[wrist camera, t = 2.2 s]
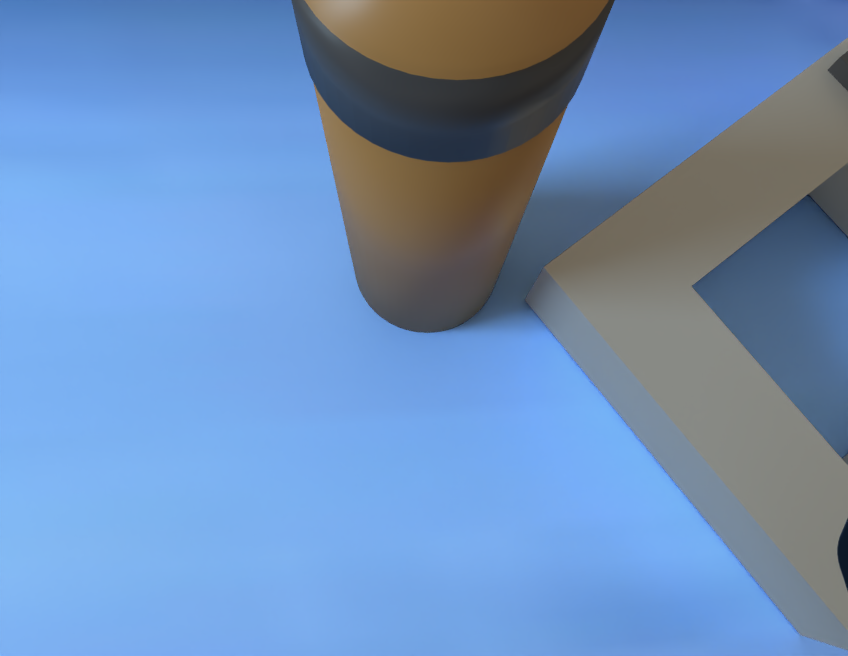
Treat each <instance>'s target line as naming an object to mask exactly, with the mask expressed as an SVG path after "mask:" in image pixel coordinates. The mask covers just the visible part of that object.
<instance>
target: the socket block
mask: <svg viewBox="0 0 848 656" xmlns="http://www.w3.org/2000/svg"><path fill="white" fill-rule="evenodd" d="M808 194H809V195H810V196H811V198H812V199H813V200H814V201H815V202H816V203H817V204H818V205H819V206H820V207H821V208H822V209H823V210H824V212H825V213H826V214H827V215H828V216H829V217H830V218H831V219H832V220H833V221H834V222H835V223H836V224H837V226H838V227H839V228H840V229H841V230H842V231H843V232H844V233H845V234H846V235H847V236H848V38H847V39H845V40H844V41H843V42H841V43H840V44H839V45H837V46H836V47H835V48H833V49H832V50H831V51H829V52H828V53H827V54H825V55H824V56H823V57H821V58H820V59H819V60H818V61H816V62H815V63H814V64H812V65H811V66H810V67H808V68H807V69H806V70H804V71H803V72H802V73H800V74H799V75H798V76H796V77H795V78H794V79H792V80H791V81H790V82H788V83H787V84H786V85H784V86H783V87H782V88H780V89H779V90H778V91H776V92H775V93H774V94H772V95H771V96H770V97H768V98H767V99H766V100H764V101H763V102H762V103H760V104H759V105H758V106H757V107H755V108H754V109H753V110H751V111H750V112H749V113H747V114H746V115H745V116H743V117H742V118H741V119H739V120H738V121H737V122H735V123H734V124H733V125H731V126H730V127H729V128H727V129H726V130H725V131H723V132H722V133H721V134H719V135H718V136H717V137H715V138H714V139H713V140H711V141H710V142H709V143H707V144H706V145H705V146H703V147H702V148H701V149H699V150H698V151H697V152H696V153H694V154H693V155H692V156H690V157H689V158H688V159H686V160H685V161H684V162H682V163H681V164H680V165H678V166H677V167H676V168H674V169H673V170H672V171H670V172H669V173H668V174H666V175H665V176H664V177H662V178H661V179H660V180H658V181H657V182H656V183H654V184H653V185H652V186H650V187H649V188H648V189H646V190H645V191H644V192H642V193H641V194H640V195H638V196H637V197H636V198H635V199H633V200H632V201H631V202H629V203H628V204H627V205H625V206H624V207H623V208H621V209H620V210H619V211H617V212H616V213H615V214H613V215H612V216H611V217H609V218H608V219H607V220H605V221H604V222H603V223H601V224H600V225H599V226H597V227H596V228H595V229H593V230H592V231H591V232H589V233H588V234H587V235H585V236H584V237H583V238H581V239H580V240H579V241H578V242H576V243H575V244H574V245H572V246H571V247H570V248H568V249H567V250H566V251H564V252H563V253H562V254H560V255H559V256H558V257H556V258H555V259H554V260H552V261H551V262H550V263H548V264H547V265H546V266H544V267H543V269H542V271H541V273H540V274H539V276H538V278H537V279H536V281H535V283H534V285H533V286H532V288H531V290H530V292H529V293H528V295H527V297H526V299H525V301H526V302H527V303H528V304H529V306H530V307H531V308H532V309H533V311H534V312H535V313H536V314H537V315H538V317H539V318H540V319H541V320H542V321H543V323H544V324H545V325H546V326H547V328H548V329H549V330H550V331H551V332H552V334H553V335H554V336H555V337H556V338H557V340H558V341H559V342H560V343H561V345H562V346H563V347H564V348H565V349H566V351H567V352H568V353H569V354H570V356H571V357H572V358H573V359H574V360H575V362H576V363H577V364H578V365H579V366H580V368H581V369H582V370H583V371H584V373H585V374H586V375H587V376H588V377H589V379H590V380H591V381H592V382H593V383H594V385H595V386H596V387H597V388H598V390H599V391H600V392H601V393H602V394H603V396H604V397H605V398H606V399H607V400H608V402H609V403H610V404H611V405H612V407H613V408H614V409H615V410H616V411H617V413H618V414H619V415H620V416H621V418H622V419H623V420H624V421H625V422H626V424H627V425H628V426H629V427H630V428H631V430H632V431H633V432H634V433H635V435H636V436H637V437H638V438H639V439H640V441H641V442H642V443H643V444H644V445H645V447H646V448H647V449H648V450H649V452H650V453H651V454H652V455H653V456H654V458H655V459H656V460H657V461H658V463H659V464H660V465H661V466H662V467H663V469H664V470H665V471H666V472H667V473H668V475H669V476H670V477H671V478H672V480H673V481H674V482H675V483H676V484H677V486H678V487H679V488H680V489H681V490H682V492H683V493H684V494H685V495H686V497H687V498H688V499H689V500H690V501H691V503H692V504H693V505H694V506H695V507H696V509H697V510H698V511H699V512H700V514H701V515H702V516H703V517H704V518H705V520H706V521H707V522H708V523H709V525H710V526H711V527H712V528H713V529H714V531H715V532H716V533H717V534H718V535H719V537H720V538H721V539H722V540H723V542H724V543H725V544H726V545H727V546H728V548H729V549H730V550H731V551H732V552H733V554H734V555H735V556H736V557H737V559H738V560H739V561H740V562H741V563H742V565H743V566H744V567H745V568H746V569H747V571H748V572H749V573H750V574H751V576H752V577H753V578H754V579H755V580H756V582H757V583H758V584H759V585H760V587H761V588H762V589H763V590H764V591H765V593H766V594H767V595H768V596H769V597H770V599H771V600H772V601H773V602H774V604H775V605H776V606H777V607H778V608H779V610H780V611H781V612H782V613H783V614H784V616H785V617H786V618H787V619H788V621H789V622H790V623H791V624H792V625H793V627H794V628H795V629H796V630H797V631H798V633H799V634H800V635H802V636H805V637H808V638H811V639H814V640H817V641H820V642H823V643H826V644H829V645H832V646H835V647H839V648H842V649H845V650H848V591H847V588H846V585H845V582H844V579H843V576H842V572H841V569H840V566H839V562H838V556H837V546H838V540H839V537H840V535H841V532H842V530H843V528H844V525H845V523H846V521H847V518H848V454H847V455H846V456H845V457H843V458H841V457H840V456H839V455H838V454H837V453H836V451H835V450H834V449H833V448H832V447H831V446H830V445H829V443H828V442H827V441H826V440H825V439H824V438H823V437H822V435H821V434H820V433H819V432H818V431H817V430H816V429H815V427H814V426H813V425H812V424H811V423H810V422H809V421H808V419H807V418H806V417H805V416H804V415H803V414H802V413H801V411H800V410H799V409H798V408H797V407H796V406H795V404H794V403H793V402H792V401H791V400H790V399H789V398H788V396H787V395H786V394H785V393H784V392H783V391H782V390H781V388H780V387H779V386H778V385H777V384H776V383H775V382H774V380H773V379H772V378H771V377H770V376H769V375H768V374H767V372H766V371H765V370H764V369H763V368H762V367H761V365H760V364H759V363H758V362H757V361H756V360H755V359H754V357H753V356H752V355H751V354H750V353H749V352H748V351H747V349H746V348H745V347H744V346H743V345H742V344H741V343H740V341H739V340H738V339H737V338H736V337H735V336H734V335H733V333H732V332H731V331H730V330H729V329H728V328H727V327H726V325H725V324H724V323H723V322H722V321H721V320H720V318H719V317H718V316H717V315H716V314H715V313H714V312H713V310H712V309H711V308H710V307H709V306H708V305H707V304H706V302H705V301H704V300H703V299H702V298H701V297H700V296H699V294H698V293H697V292H696V291H695V290H694V289H693V288H692V285H694V284H695V283H696V282H697V281H699V280H700V279H701V278H702V277H704V276H705V275H706V274H708V273H709V272H710V271H711V270H713V269H714V268H715V267H716V266H718V265H719V264H720V263H721V262H723V261H724V260H725V259H727V258H728V257H729V256H730V255H732V254H733V253H734V252H735V251H737V250H738V249H739V248H740V247H742V246H743V245H744V244H746V243H747V242H748V241H749V240H751V239H752V238H753V237H754V236H756V235H757V234H758V233H759V232H761V231H762V230H763V229H765V228H766V227H767V226H768V225H770V224H771V223H772V222H773V221H775V220H776V219H777V218H778V217H780V216H781V215H782V214H784V213H785V212H786V211H787V210H789V209H790V208H791V207H792V206H794V205H795V204H796V203H797V202H799V201H800V200H801V199H803V198H804V197H805V196H806V195H808Z"/></svg>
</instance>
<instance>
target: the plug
mask: <svg viewBox="0 0 848 656" xmlns="http://www.w3.org/2000/svg"><path fill="white" fill-rule="evenodd" d="M614 1H615V0H292V5H293V9H294V14H295V18H296V22H297V27H298V31H299V36H300V40H301V45H302V49H303V54H304V58H305V62H306V65H307V68H308V71H309V73H310V76H311V79H312V81H313V83H314V87H315V92H316V96H317V101H318V106H319V110H320V115H321V119H322V124H323V129H324V133H325V138H326V142H327V147H328V152H329V156H330V161H331V165H332V170H333V175H334V179H335V184H336V188H337V193H338V198H339V202H340V207H341V212H342V216H343V221H344V225H345V230H346V235H347V239H348V244H349V248H350V253H351V258H352V262H353V267H354V271H355V276H356V280H357V283H358V286H359V289H360V291H361V293H362V295H363V297H364V299H365V300H366V302H367V303H368V305H369V306H370V307H371V308H372V309H373V310H374V311H375V312H376V313H377V314H378V315H379V316H380V317H382V318H383V319H384V320H386V321H388V322H389V323H391V324H393V325H395V326H397V327H399V328H402V329H405V330H409V331H414V332H424V333H430V332H439V331H444V330H448V329H451V328H454V327H456V326H458V325H460V324H462V323H464V322H466V321H467V320H469V319H470V318H472V317H473V316H474V315H475V314H476V313H477V312H478V311H479V310H480V309H481V308H482V307H483V306H484V304H485V303H486V301H487V300H488V298H489V297H490V295H491V293H492V291H493V288H494V286H495V284H496V281H497V279H498V276H499V274H500V271H501V269H502V266H503V264H504V261H505V259H506V256H507V254H508V251H509V249H510V246H511V244H512V241H513V239H514V237H515V234H516V232H517V229H518V227H519V224H520V222H521V219H522V217H523V214H524V212H525V209H526V207H527V204H528V202H529V199H530V197H531V195H532V192H533V190H534V187H535V185H536V182H537V180H538V177H539V175H540V172H541V170H542V167H543V165H544V162H545V160H546V157H547V155H548V153H549V150H550V148H551V145H552V143H553V140H554V138H555V135H556V133H557V130H558V128H559V125H560V123H561V120H562V118H563V115H564V113H565V110H566V108H567V106H568V104H569V102H570V101H571V99H572V98H573V96H574V95H575V93H576V91H577V88H578V86H579V84H580V82H581V80H582V78H583V76H584V73H585V71H586V68H587V66H588V64H589V61H590V59H591V56H592V54H593V51H594V49H595V47H596V44H597V42H598V39H599V37H600V35H601V32H602V30H603V27H604V25H605V22H606V20H607V18H608V15H609V13H610V10H611V8H612V6H613V3H614Z"/></svg>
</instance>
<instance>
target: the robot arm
mask: <svg viewBox="0 0 848 656" xmlns="http://www.w3.org/2000/svg"><path fill="white" fill-rule="evenodd" d="M837 556H838V562H839V566H840V569H841V572H842V576H843V579H844V582H845V585H846V588H847V591H848V518H847V521H846V523H845V525H844V528H843V530H842V532H841V535H840V537H839V540H838V546H837Z"/></svg>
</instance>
